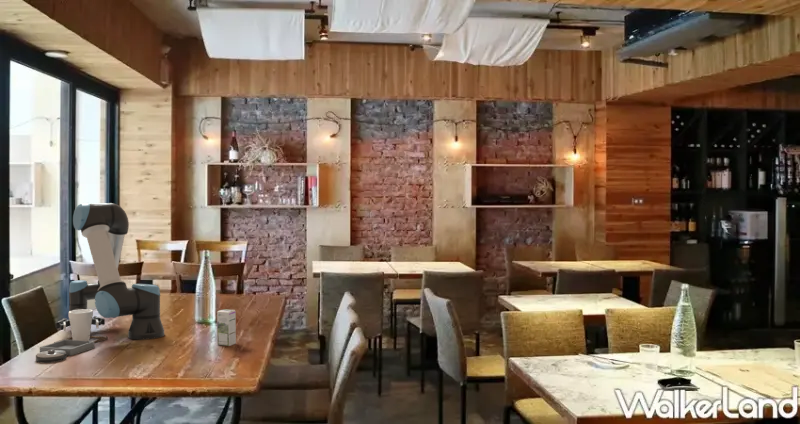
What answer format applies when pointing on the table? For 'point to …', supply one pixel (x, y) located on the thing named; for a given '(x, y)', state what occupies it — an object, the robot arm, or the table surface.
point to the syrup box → (226, 327)
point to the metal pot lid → (51, 356)
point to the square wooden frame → (100, 338)
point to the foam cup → (81, 324)
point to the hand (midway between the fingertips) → (81, 326)
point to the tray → (69, 346)
